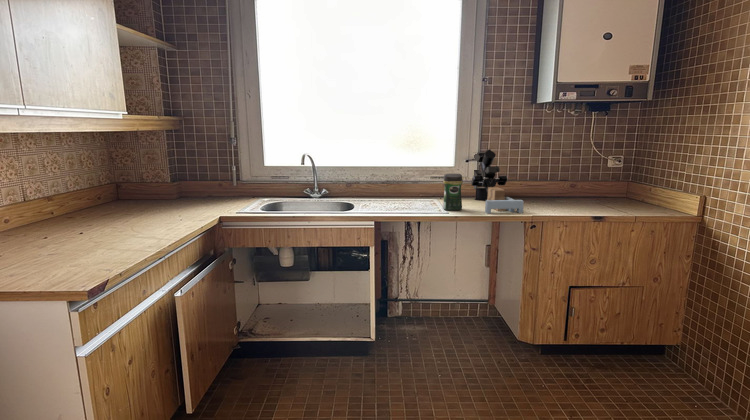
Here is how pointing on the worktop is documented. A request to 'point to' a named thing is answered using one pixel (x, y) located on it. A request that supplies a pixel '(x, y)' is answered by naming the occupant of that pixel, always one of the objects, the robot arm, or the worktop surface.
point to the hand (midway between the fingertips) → (492, 192)
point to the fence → (504, 205)
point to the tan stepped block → (496, 195)
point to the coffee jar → (452, 192)
